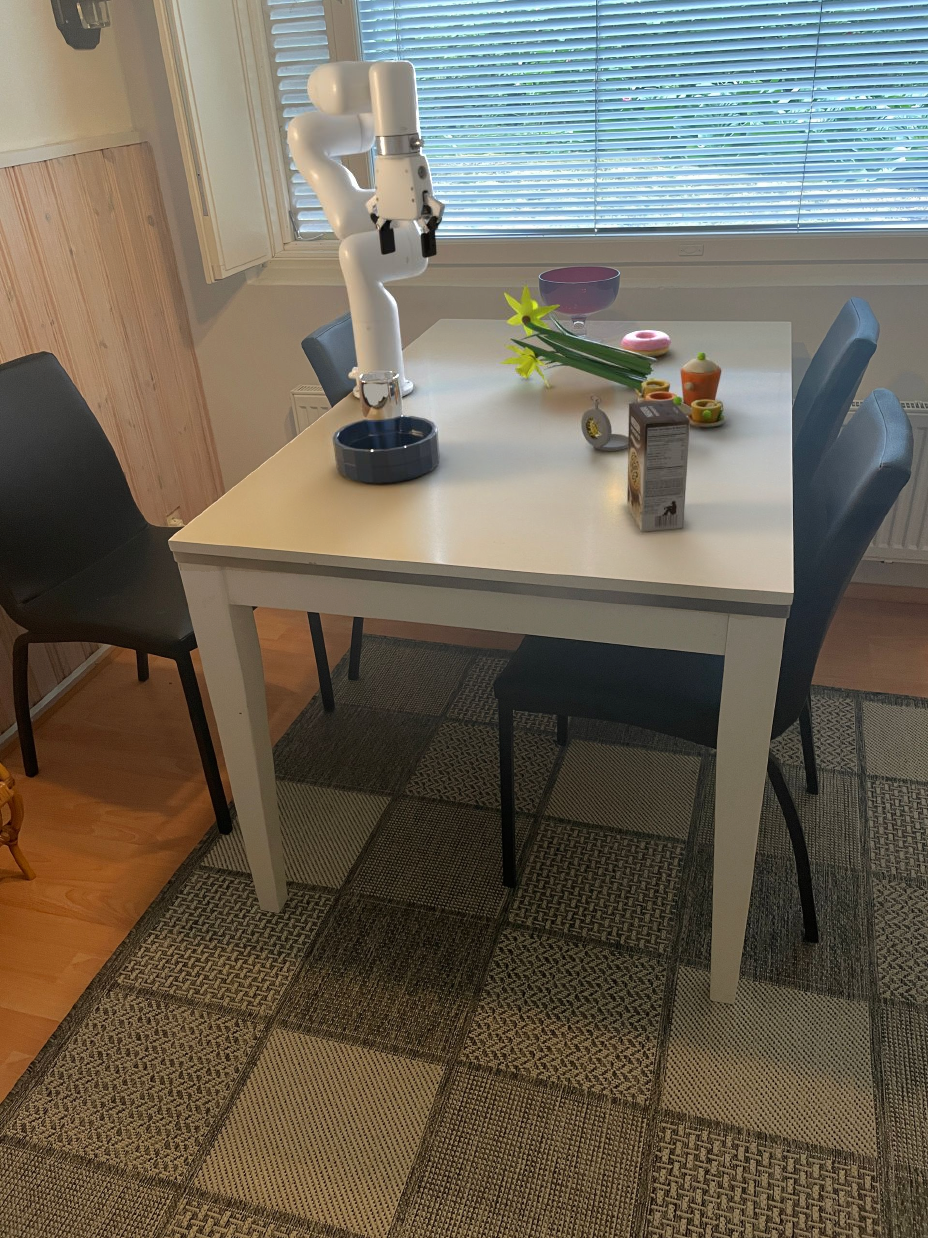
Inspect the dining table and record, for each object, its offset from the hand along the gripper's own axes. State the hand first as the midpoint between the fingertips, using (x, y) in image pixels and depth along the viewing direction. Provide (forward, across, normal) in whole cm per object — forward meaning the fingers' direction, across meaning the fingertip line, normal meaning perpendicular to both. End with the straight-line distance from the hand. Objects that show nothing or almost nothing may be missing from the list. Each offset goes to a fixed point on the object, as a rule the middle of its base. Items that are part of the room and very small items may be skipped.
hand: (408, 254), depth 166 cm
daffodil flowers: (+31, -13, -34) cm, 47 cm away
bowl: (+30, -10, +21) cm, 38 cm away
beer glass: (+30, -10, +21) cm, 38 cm away
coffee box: (+31, -59, +17) cm, 69 cm away
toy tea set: (+31, -42, -24) cm, 57 cm away
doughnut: (+31, -15, -59) cm, 68 cm away
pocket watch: (+31, -38, -4) cm, 49 cm away
